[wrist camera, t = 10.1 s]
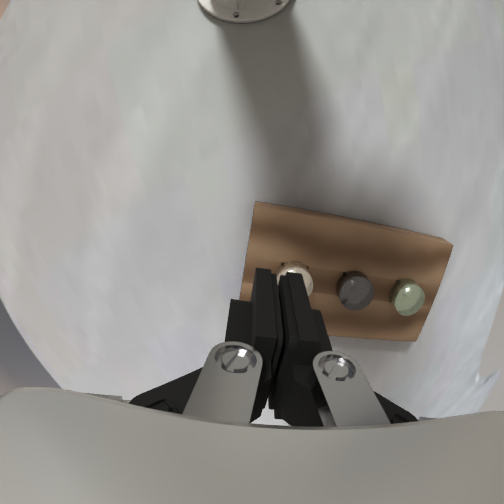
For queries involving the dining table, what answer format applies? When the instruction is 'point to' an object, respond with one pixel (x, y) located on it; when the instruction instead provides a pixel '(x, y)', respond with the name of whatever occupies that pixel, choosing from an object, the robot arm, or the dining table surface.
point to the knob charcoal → (354, 290)
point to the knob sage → (407, 297)
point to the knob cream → (297, 268)
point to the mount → (348, 266)
